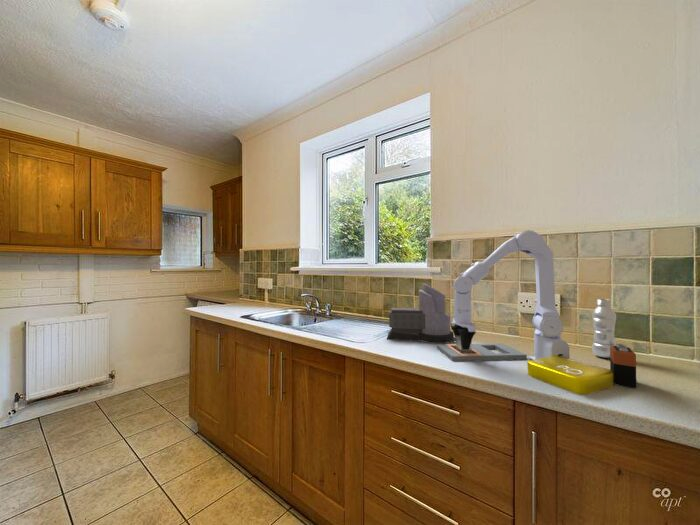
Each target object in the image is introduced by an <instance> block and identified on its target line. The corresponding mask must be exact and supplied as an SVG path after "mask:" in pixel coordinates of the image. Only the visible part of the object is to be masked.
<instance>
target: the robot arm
mask: <svg viewBox="0 0 700 525" xmlns="http://www.w3.org/2000/svg"><path fill="white" fill-rule="evenodd" d="M518 251H519V252H521V253H525V254H527V255H528V256H530V257H531V258H533V259H534V264H535V266H534V268H535V270H534V271H535V289H536V290H535V292H536V293H535V294H536V295H535V296H536V305H535V309H534V315H533V317H532V325H533V327H534V328H535V330H534V331H533V344H534V345H533V346H534V347H533V348H534V350H533V352H534V354H533V356H531V355H530V356H527V359H530V360H535V359H540V358H546V357H551V356H563V357H566V358H570V345H569V343H568V342H567V341H566V340H564V339H563V338H562V336H561V335H562V332H563V331H564V325H563V322H562V321H561V318H560V314H559V311H558V309H557V307H556V292H555V291H556V290H555V289H556V288H555V266H554V253H553V250H552V249H551V248H550V246H549V245H548V244H547V242H546V241H545V240H544V238H543V235H541V234H539V233H538V232H536V231H534V230H529V229H528V230H524V231H521V232H520V233H516V234H515V235H514V236H513V237H511V238H510V239H508V240H507V241H505V242H503V243H502V244H501V245H500V246H498V248H497V249H495V250H494V251H493V252H492V253H491V254H490V255H489V256H487V257H486V259H484V260H482V261H476V262H472V263H471V264H470V267H469V268H468V269H466V270H465V271H464V272H461V273H460V275H461V276H458V277H456V279H455V280H454V282H453V287H454V296H453V303H454V304H453V306H454V307H453V309H454V310H453V312H454V316H453V317H452V318H451V321H450V329H451V331H452V332H453V333H454V338H455V339H456V335H460V337H461V342H462V348H463V349H464V350H465V349H469V348H470V344H471V341H472V340H473V338H474V336H475V334H476V332H477V331H476V325H474V323H473V322H472V297H471V291H472V289H473V286H475V285H476V286H477V284H478V283H479V282H481V281H482V280H483V279H484V278H485V277H487V276H488V275H489V274H490V268H491V267H493V266H494V265H495V264H496V263H498V262H499V261H501V260H502V259H503V258H504V257H505V256H507V255H509V254H511V253H514V252H518ZM472 342H473V341H472Z"/></svg>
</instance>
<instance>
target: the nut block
mask: <svg viewBox="0 0 700 525" xmlns="http://www.w3.org/2000/svg"><path fill="white" fill-rule="evenodd" d="M472 342H473V341H471V344H470V348H469V349H465V350H464V349H463V348H462V342H461V337H460V335H456V342H455V344H456V350H457V351H459V352H460V353H462V354H471V353H472V344H473V343H472Z"/></svg>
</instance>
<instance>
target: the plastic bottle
mask: <svg viewBox="0 0 700 525" xmlns="http://www.w3.org/2000/svg"><path fill="white" fill-rule="evenodd" d="M596 305H597V306H596V307H595V308H594V310H592V313H591V317H592V324H593V342H592V345H591V346H592V347H591V350H592V353H593V355H595V356H597V357H601V358H604V359H610V346H617V345H616V340H615V328H616V323H617V314H616V312H615V311H614V309H613V308H612V307H611V306H612V304H611V299H608V298H607V299H604V298H597V299H596Z"/></svg>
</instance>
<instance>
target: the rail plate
mask: <svg viewBox="0 0 700 525" xmlns="http://www.w3.org/2000/svg"><path fill="white" fill-rule="evenodd" d="M436 349H437V350H438V351H439V350H440V353H442V354H443V355H444V354H445V357H446V358H448V359H449V358H450V359H449V360H451V361H452V362H458V361H459V362H462V361H469V362H470V361H499V360H501V361H504V360H512V361H513V360H527V359H528V356H527V354H526V353H524V352H522V351H519V350H517V349H515V348H513V347H510V346H508V345H506V344H504V343H472V353H471V354H462V353H460V352H459V351H457V350H456V343H445V344H436ZM495 349H496V350H495ZM492 350H495V351H497V350H498V352H499V353H496V352H494V351H492Z"/></svg>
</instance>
